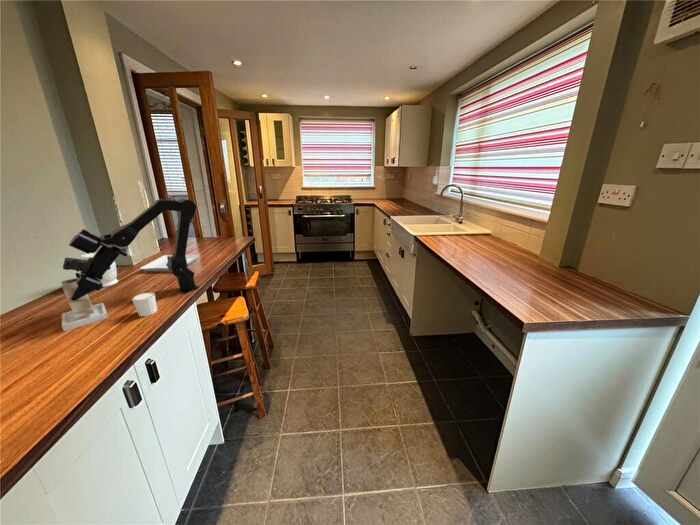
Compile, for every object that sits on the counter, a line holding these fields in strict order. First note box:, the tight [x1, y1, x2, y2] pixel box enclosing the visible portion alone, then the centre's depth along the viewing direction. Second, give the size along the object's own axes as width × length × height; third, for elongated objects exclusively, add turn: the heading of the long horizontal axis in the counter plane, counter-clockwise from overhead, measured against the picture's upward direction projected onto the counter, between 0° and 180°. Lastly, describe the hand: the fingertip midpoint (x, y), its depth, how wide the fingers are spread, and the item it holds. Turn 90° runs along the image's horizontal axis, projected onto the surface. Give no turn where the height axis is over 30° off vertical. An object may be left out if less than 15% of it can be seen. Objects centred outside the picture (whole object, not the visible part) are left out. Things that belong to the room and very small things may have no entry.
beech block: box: [61, 277, 94, 318], centre depth 99 cm, size 5×5×13 cm
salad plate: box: [139, 254, 201, 272], centre depth 151 cm, size 21×21×3 cm
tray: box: [61, 302, 109, 332], centre depth 101 cm, size 12×12×2 cm
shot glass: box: [131, 292, 158, 318], centre depth 103 cm, size 7×7×7 cm
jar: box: [80, 250, 119, 288], centre depth 128 cm, size 11×10×15 cm
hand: (72, 297), depth 98 cm, fingers closed on beech block, 5 cm apart
